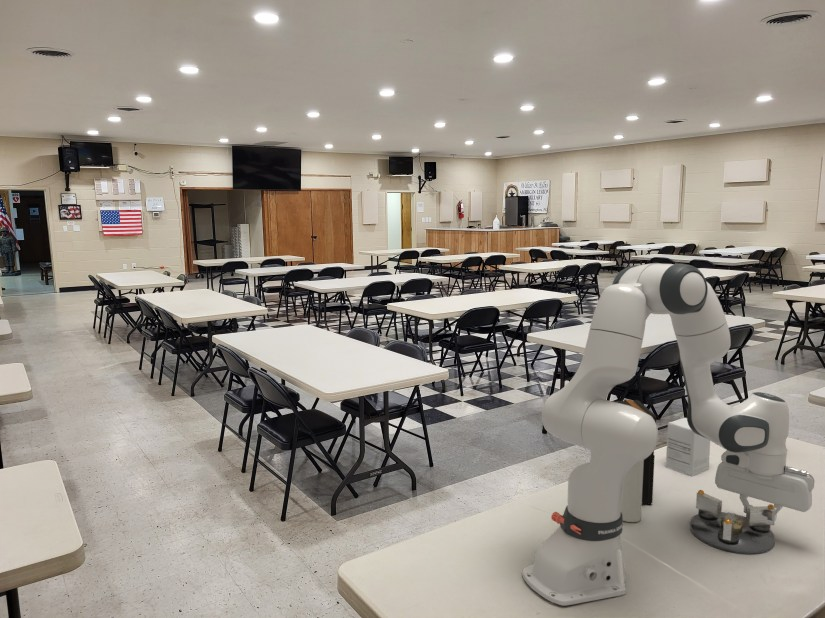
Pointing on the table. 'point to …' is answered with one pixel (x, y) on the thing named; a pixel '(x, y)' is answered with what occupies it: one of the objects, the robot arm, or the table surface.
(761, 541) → the plate
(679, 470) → the supplement box
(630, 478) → the paper towel roll
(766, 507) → the grey lever knob
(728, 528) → the knob near
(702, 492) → the knob left
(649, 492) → the voltmeter
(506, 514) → the table surface
